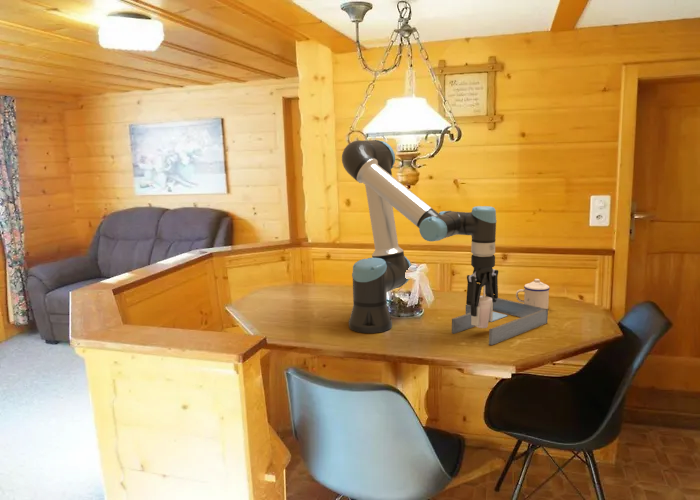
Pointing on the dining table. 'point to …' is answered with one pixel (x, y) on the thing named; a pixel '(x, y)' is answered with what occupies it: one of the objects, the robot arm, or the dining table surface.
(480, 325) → the smoothie
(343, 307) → the dining table surface
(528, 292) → the teacup with lid
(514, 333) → the channel
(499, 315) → the pad
